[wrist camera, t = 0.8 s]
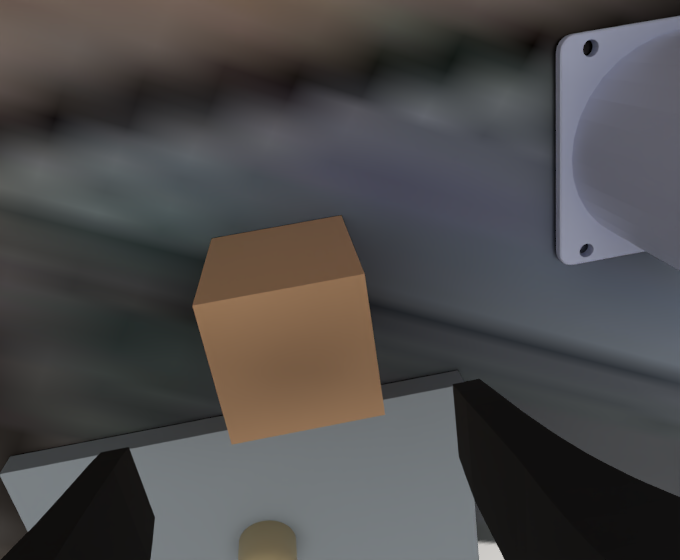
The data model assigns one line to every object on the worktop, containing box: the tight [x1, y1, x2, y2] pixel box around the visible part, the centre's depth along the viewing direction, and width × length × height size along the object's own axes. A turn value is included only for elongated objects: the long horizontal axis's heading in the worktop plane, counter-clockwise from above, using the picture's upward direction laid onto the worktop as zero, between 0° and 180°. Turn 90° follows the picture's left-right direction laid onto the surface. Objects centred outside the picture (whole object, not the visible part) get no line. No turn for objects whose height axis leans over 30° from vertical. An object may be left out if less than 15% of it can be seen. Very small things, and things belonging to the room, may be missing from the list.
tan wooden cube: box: [192, 215, 385, 445], centre depth 19 cm, size 5×5×6 cm
